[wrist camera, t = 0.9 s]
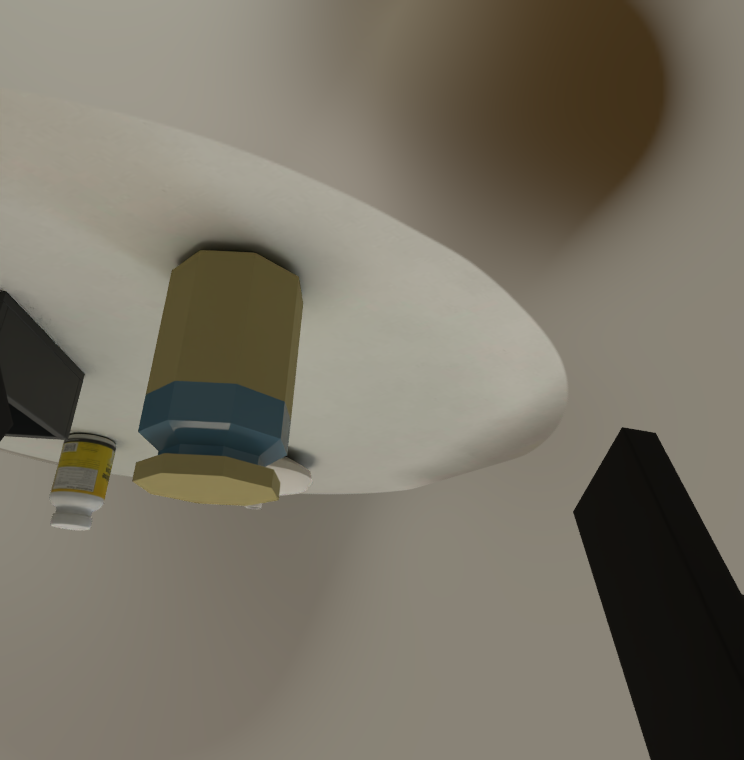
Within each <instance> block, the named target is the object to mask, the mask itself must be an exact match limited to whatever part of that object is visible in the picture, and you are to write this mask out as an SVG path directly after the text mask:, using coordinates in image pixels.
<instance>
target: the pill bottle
mask: <svg viewBox="0 0 744 760" xmlns="http://www.w3.org/2000/svg"><path fill="white" fill-rule="evenodd" d="M115 450H116V445H115V443H114V442H112V441H111V440H109V439H107V438H104V437H100V436H96V435H90V434H73V435H69V437H68V440H64V443H63V447H62V451H61V455H60V459H59V463H58V467H57V470H56V474H55V478H54V482H53V485H52V489H51V493H50V497H49V498H50V502H51V504H52V505H53V506H55V507H56V513H54V514H53V516H52V519H51V523H50V525H51V526H53V527H57V528H62V529H69V530H89V529H90V528H91V524H92V518H91V514H92V512H93V511H96V510H98V509H100V508H101V507H102V505H103V503H104V499H105V495H106V490H107V486H108V481H109V477H110V473H111V468H112V464H113V459H114V455H115Z"/></svg>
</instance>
